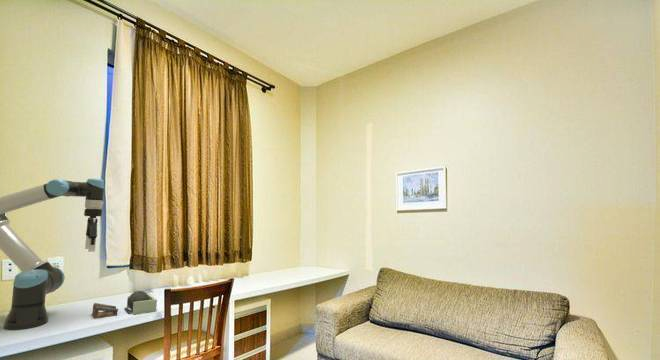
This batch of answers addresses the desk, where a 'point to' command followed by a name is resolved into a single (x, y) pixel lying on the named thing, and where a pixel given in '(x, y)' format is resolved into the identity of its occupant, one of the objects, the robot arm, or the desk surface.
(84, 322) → the desk surface
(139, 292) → the decorative ball
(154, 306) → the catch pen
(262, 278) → the desk surface
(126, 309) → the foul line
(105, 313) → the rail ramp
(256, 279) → the desk surface
